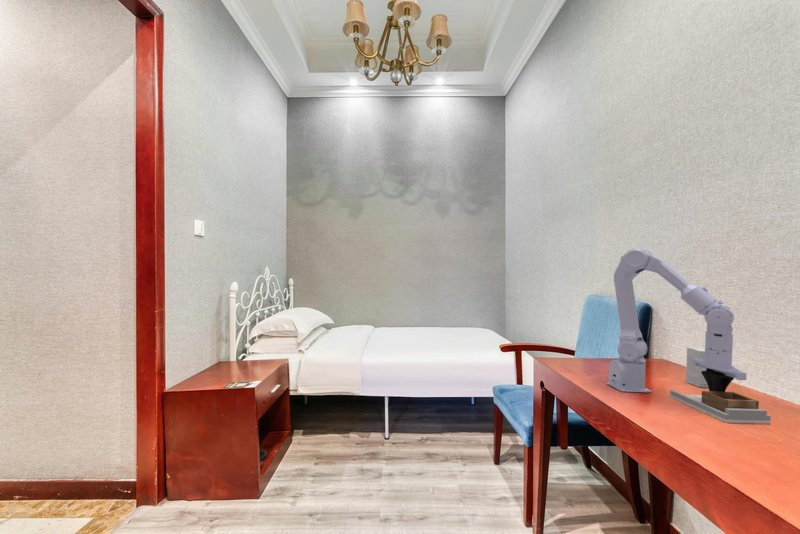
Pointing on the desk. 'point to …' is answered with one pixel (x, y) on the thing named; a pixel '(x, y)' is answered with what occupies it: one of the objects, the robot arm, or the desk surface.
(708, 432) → the desk surface
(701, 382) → the skincare box
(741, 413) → the bay
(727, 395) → the crate
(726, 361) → the robot arm
